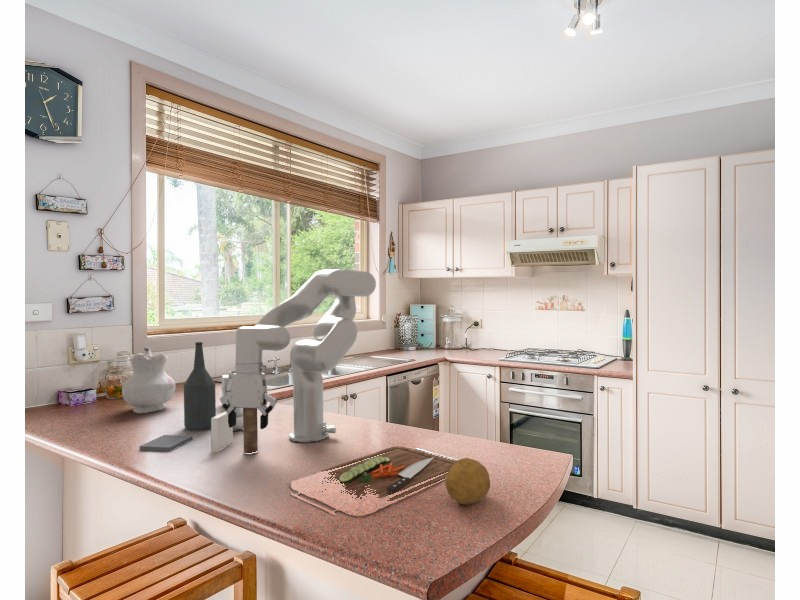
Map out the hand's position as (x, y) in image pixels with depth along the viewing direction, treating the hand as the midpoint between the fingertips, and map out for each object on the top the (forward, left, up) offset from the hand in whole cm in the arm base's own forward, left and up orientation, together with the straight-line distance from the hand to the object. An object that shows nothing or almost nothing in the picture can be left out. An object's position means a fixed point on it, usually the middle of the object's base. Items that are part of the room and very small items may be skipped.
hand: (247, 427), depth 147 cm
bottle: (+30, -25, -8) cm, 39 cm away
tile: (+11, -5, -8) cm, 14 cm away
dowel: (0, -1, -8) cm, 8 cm away
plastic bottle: (+16, -23, -8) cm, 29 cm away
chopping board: (-42, +13, -8) cm, 45 cm away
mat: (+29, -5, -8) cm, 30 cm away
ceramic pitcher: (+66, -48, -8) cm, 81 cm away
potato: (-64, +25, -8) cm, 70 cm away
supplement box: (+35, -58, -8) cm, 68 cm away
